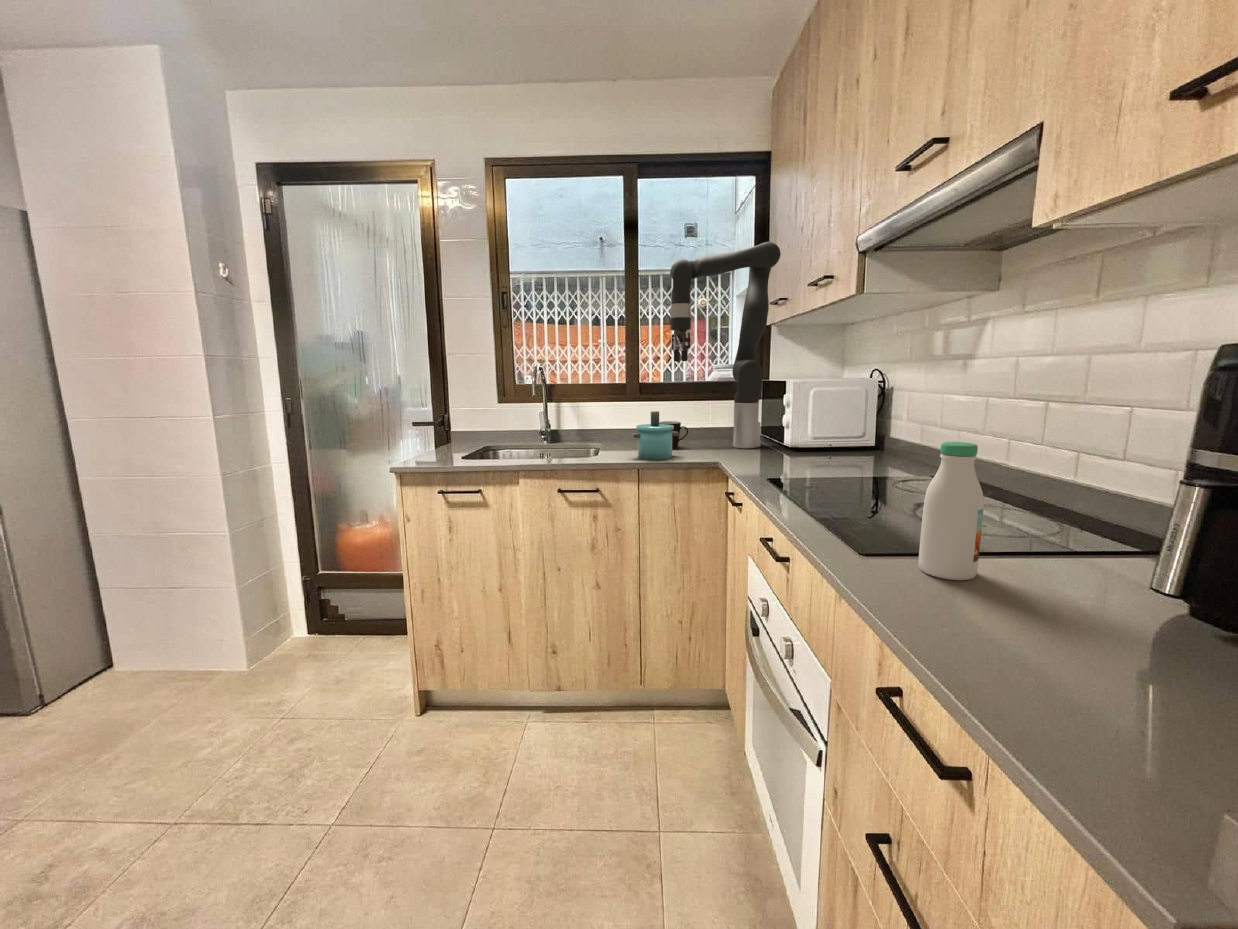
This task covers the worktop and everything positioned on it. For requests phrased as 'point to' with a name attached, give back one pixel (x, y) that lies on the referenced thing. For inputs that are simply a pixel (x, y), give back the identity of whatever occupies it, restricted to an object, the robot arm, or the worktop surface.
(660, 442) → the pot
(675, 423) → the coffee mug
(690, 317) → the robot arm
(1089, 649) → the worktop surface
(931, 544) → the milk bottle
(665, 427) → the lid
